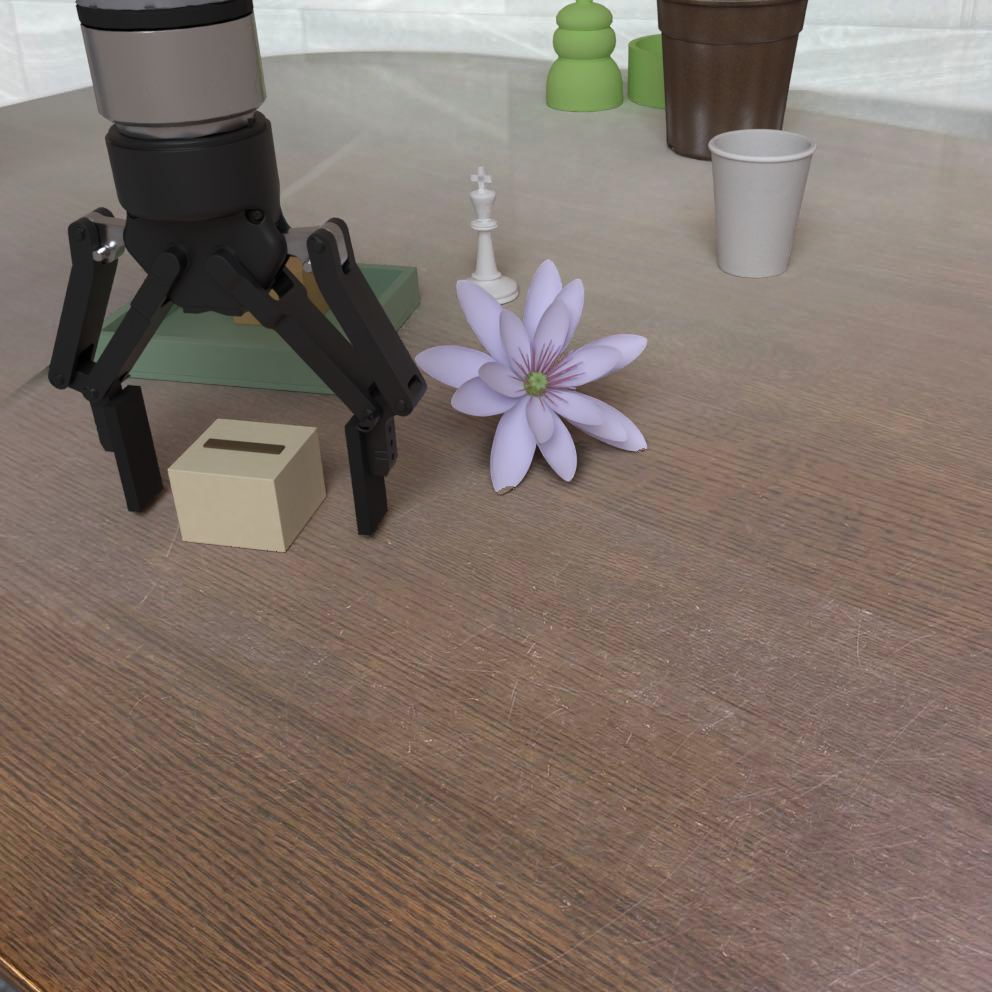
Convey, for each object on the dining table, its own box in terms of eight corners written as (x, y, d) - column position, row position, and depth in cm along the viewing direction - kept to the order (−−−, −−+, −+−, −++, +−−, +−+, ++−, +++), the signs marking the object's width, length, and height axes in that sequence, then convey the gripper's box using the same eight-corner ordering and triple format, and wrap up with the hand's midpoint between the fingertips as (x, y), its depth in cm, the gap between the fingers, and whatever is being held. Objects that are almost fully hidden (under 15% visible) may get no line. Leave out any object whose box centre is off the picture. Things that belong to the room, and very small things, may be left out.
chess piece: (504, 309, 92) (499, 178, 87) (446, 302, 94) (437, 173, 88) (527, 286, 96) (524, 160, 91) (470, 280, 98) (464, 155, 92)
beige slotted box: (182, 541, 65) (166, 466, 63) (230, 486, 70) (216, 415, 68) (285, 553, 64) (273, 477, 62) (326, 496, 69) (316, 424, 66)
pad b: (234, 323, 90) (224, 263, 87) (266, 294, 95) (258, 236, 92) (309, 329, 88) (301, 268, 86) (338, 299, 93) (331, 241, 91)
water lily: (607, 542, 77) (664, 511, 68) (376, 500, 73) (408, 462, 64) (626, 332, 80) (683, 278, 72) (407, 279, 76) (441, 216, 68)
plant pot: (785, 173, 121) (801, 0, 112) (630, 162, 126) (634, -6, 117) (809, 133, 134) (824, -25, 125) (667, 124, 138) (673, -29, 130)
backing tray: (93, 374, 84) (83, 334, 82) (201, 288, 97) (194, 252, 96) (344, 395, 80) (339, 354, 78) (420, 303, 94) (417, 266, 92)
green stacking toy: (723, 79, 157) (729, -26, 151) (761, 104, 145) (769, -9, 139) (536, 92, 154) (533, -16, 147) (559, 119, 142) (557, 3, 135)
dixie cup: (690, 277, 97) (696, 151, 92) (716, 244, 104) (723, 125, 98) (793, 289, 95) (805, 160, 89) (813, 254, 101) (826, 132, 96)
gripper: (469, 104, 56) (491, 497, 67) (-4, 92, 61) (91, 460, 72) (420, 146, 50) (454, 571, 61) (-102, 129, 55) (19, 524, 66)
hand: (257, 511), depth 67 cm, fingers open, 13 cm apart
